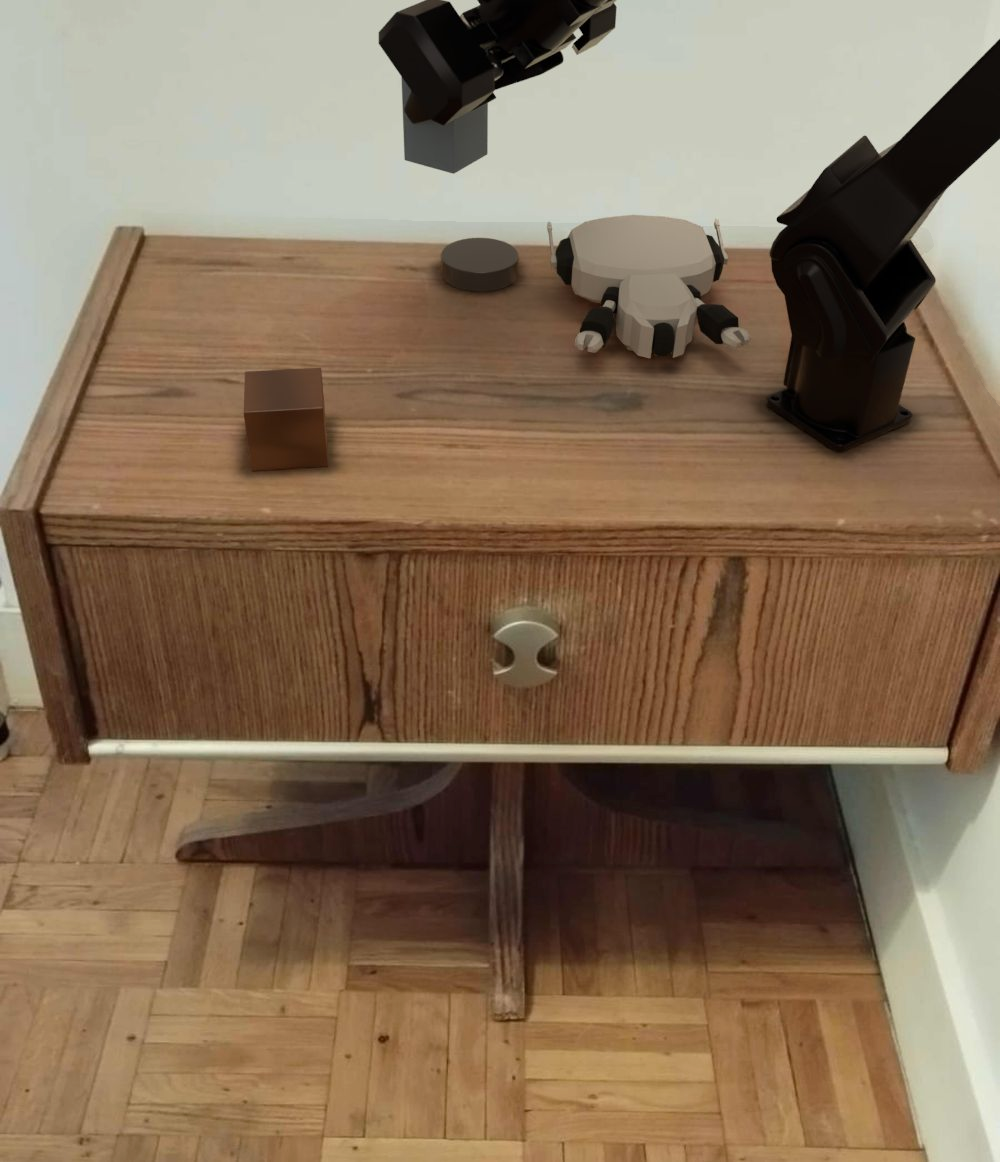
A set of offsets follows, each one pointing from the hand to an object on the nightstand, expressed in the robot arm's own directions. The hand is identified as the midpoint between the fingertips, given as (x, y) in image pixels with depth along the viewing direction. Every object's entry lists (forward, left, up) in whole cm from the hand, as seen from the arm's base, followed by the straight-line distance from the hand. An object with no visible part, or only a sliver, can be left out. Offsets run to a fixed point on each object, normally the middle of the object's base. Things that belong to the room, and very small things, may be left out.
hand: (428, 106), depth 84 cm
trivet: (-1, -4, -12) cm, 13 cm away
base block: (-13, +18, -12) cm, 26 cm away
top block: (-1, 0, -3) cm, 3 cm away
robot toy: (-12, -9, -13) cm, 20 cm away
